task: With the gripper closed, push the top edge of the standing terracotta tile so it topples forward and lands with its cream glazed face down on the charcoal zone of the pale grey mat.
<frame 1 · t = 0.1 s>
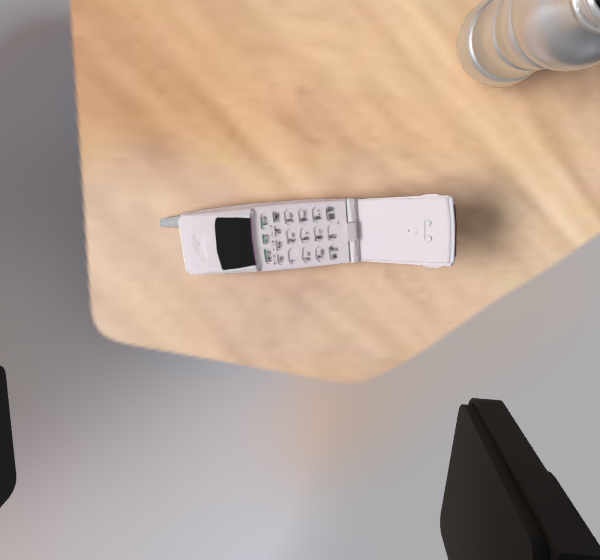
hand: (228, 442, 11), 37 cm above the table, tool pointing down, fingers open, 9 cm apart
plastic bottle: (491, 47, 42), on the table
mobile phone: (302, 229, 48), on the table
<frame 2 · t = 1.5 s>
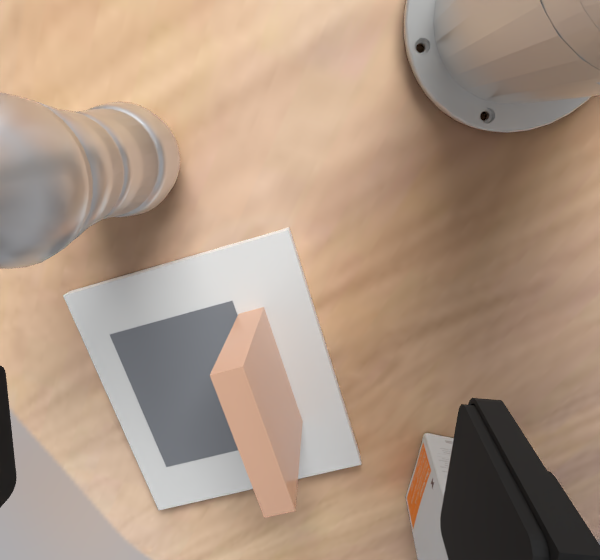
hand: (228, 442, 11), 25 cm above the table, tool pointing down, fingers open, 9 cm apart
plastic bottle: (139, 158, 34), on the table
tile: (271, 369, 36), point 1 cm above the table, touching mat
mat: (220, 376, 38), on the table
skincare box: (439, 468, 39), on the table
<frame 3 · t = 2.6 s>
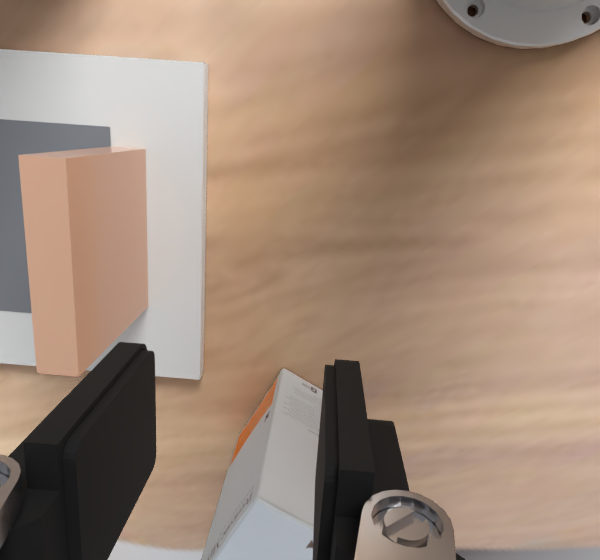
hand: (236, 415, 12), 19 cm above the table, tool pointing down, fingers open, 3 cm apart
tile: (131, 229, 29), point 1 cm above the table, touching mat
mat: (69, 221, 30), on the table
skincare box: (286, 415, 34), on the table
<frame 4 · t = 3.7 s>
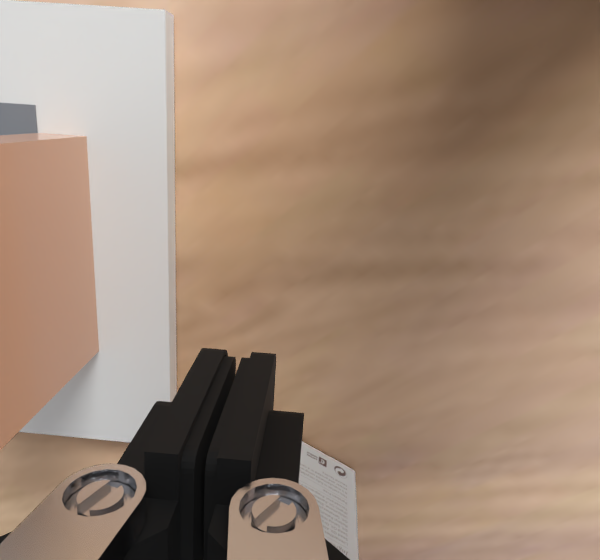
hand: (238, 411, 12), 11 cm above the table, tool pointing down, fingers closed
tile: (71, 248, 21), point 1 cm above the table, touching mat
skincare box: (286, 488, 26), on the table
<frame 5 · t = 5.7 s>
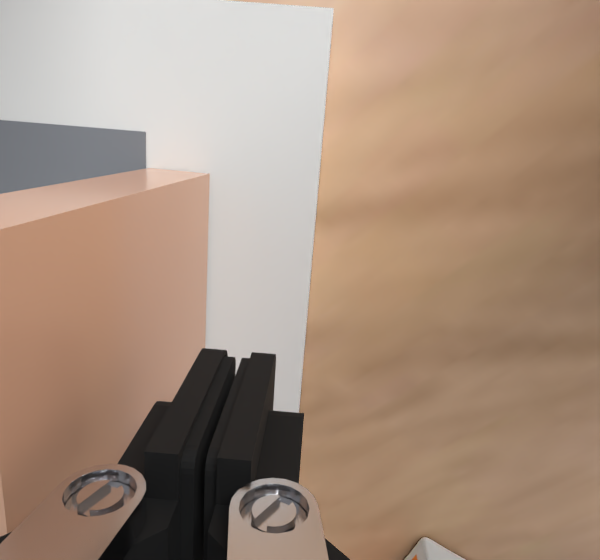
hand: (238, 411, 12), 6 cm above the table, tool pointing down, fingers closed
tile: (178, 316, 16), point 1 cm above the table, tilted 6°, touching mat
mat: (69, 294, 17), on the table
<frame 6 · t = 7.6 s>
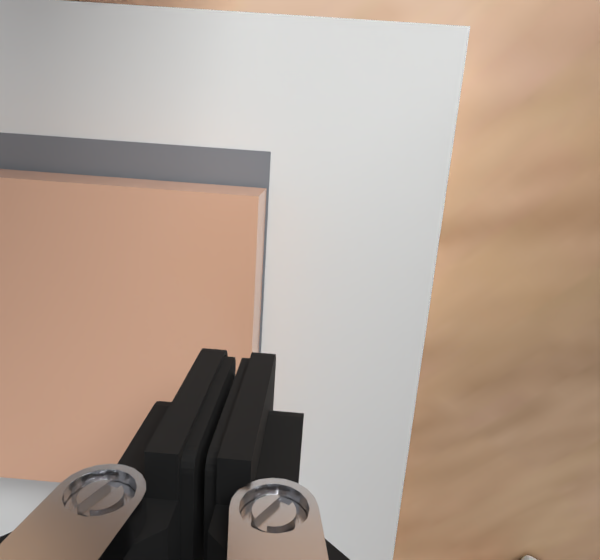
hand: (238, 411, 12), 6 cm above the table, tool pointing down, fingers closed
tile: (255, 347, 15), point 2 cm above the table, tilted 90°, touching mat
mat: (175, 314, 17), on the table
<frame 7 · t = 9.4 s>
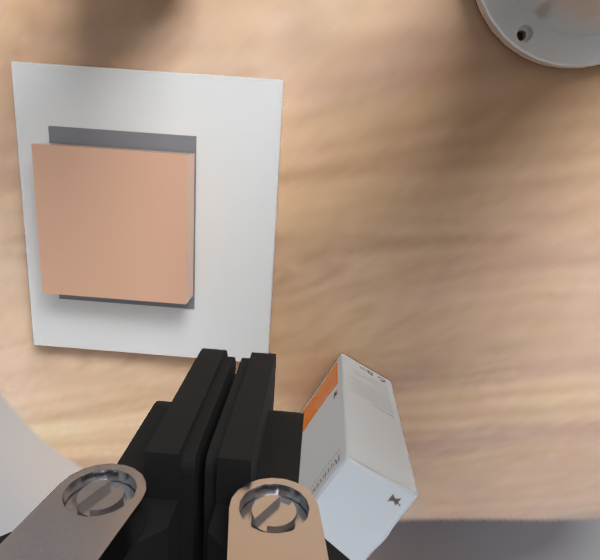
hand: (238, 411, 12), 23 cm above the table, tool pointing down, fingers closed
tile: (190, 229, 32), point 2 cm above the table, tilted 90°, touching mat
mat: (153, 220, 34), on the table
skincare box: (342, 397, 37), on the table
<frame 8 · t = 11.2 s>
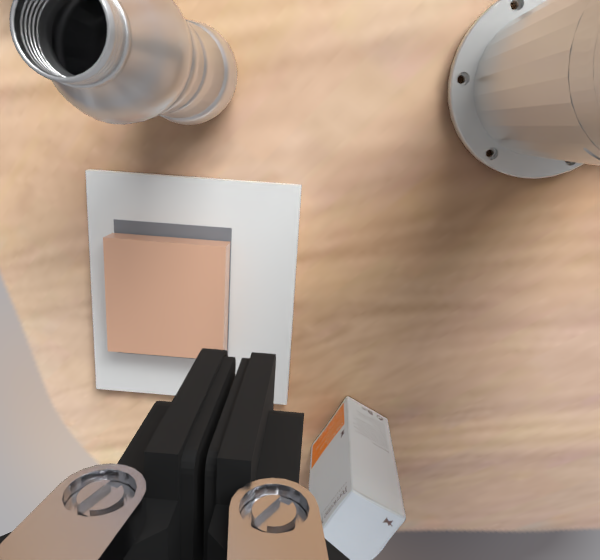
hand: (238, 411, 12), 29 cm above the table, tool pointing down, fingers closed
plastic bottle: (197, 78, 38), on the table
tile: (226, 301, 40), point 2 cm above the table, tilted 90°, touching mat
mat: (194, 290, 42), on the table
skincare box: (347, 430, 45), on the table
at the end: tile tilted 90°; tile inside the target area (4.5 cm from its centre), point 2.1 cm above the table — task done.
